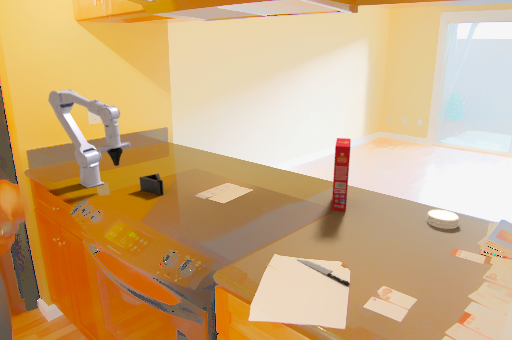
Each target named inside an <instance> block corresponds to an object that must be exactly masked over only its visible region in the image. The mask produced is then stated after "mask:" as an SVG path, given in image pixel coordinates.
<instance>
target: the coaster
mask: <svg viewBox="0 0 512 340" xmlns="http://www.w3.org/2000/svg"><path fill="white" fill-rule="evenodd" d="M459 220H460V217H459V215H458V214H456V213H455V212H452V211H450V210H446V209H445V210H444V209H431V210H429V211H428V212H427V216H426V223H427V224H428V225H430V226H431V227H434V228H437V229H441V230H453V229H457V227H458V226H459V223H460V221H459Z"/></svg>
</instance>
